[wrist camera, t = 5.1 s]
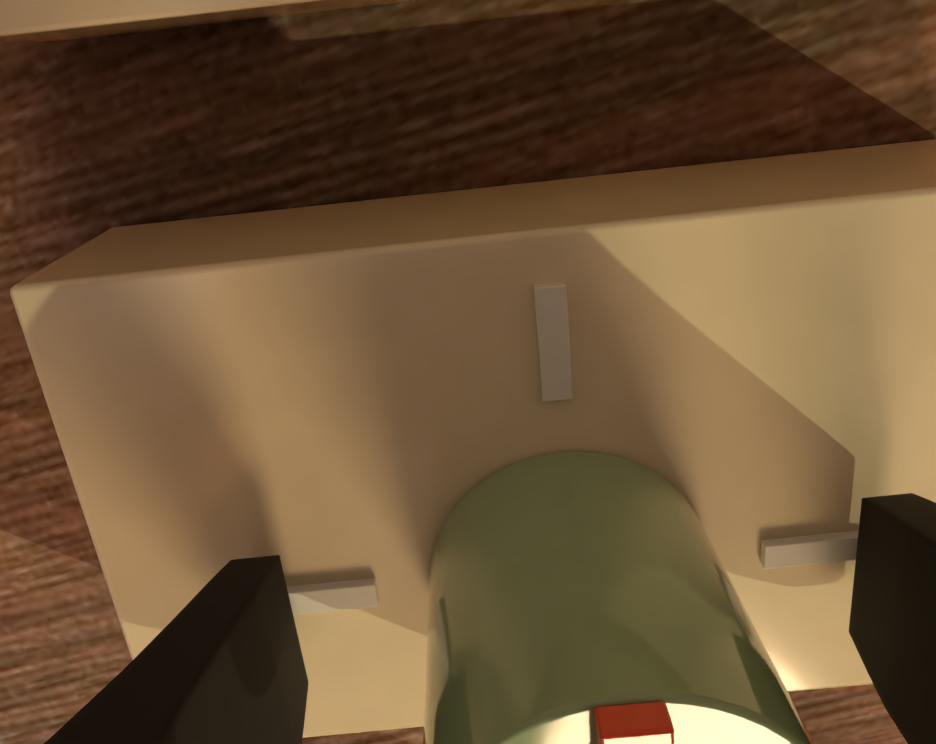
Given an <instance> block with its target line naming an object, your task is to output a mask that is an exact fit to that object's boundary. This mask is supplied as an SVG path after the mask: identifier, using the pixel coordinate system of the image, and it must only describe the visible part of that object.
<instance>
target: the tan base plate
mask: <svg viewBox="0 0 936 744" xmlns="http://www.w3.org/2000/svg"><path fill="white" fill-rule="evenodd" d="M408 1H417V0H0V42H27V41H60V40H69V39H78V38H87V37H96V36H105V35H114V34H123V33H132V32H141V31H150V30H159V29H168V28H176V27H185V26H194V25H203V24H212V23H221V22H230V21H239V20H248V19H257V18H266V17H275V16H284V15H292V14H301V13H310V12H319V11H328V10H337V9H346V8H355V7H364V6H373V5H382V4H391V3H400V2H408Z"/></svg>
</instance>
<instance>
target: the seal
mask: <svg viewBox="0 0 936 744" xmlns="http://www.w3.org/2000/svg"><path fill="white" fill-rule="evenodd" d="M423 744H814V742H813V740H812V738H811V736H810V734H809V732H808V730H807V728H806V726H805V724H804V722H803V720H802V719H801V717H800V715H799V713H798V711H797V709H796V707H795V705H794V703H793V701H792V699H791V697H790V695H789V693H788V691H787V689H786V687H785V685H784V683H783V681H782V679H781V677H780V676H779V674H778V672H777V670H776V668H775V666H774V664H773V662H772V660H771V658H770V656H769V654H768V652H767V650H766V648H765V646H764V644H763V642H762V640H761V638H760V636H759V634H758V633H757V631H756V629H755V627H754V625H753V623H752V621H751V619H750V617H749V615H748V613H747V611H746V609H745V607H744V605H743V603H742V601H741V599H740V597H739V595H738V593H737V591H736V590H735V588H734V586H733V584H732V582H731V580H730V578H729V576H728V574H727V572H726V570H725V568H724V566H723V564H722V562H721V560H720V558H719V556H718V554H717V552H716V550H715V548H714V547H713V545H712V543H711V541H710V539H709V537H708V535H707V533H706V531H705V529H704V527H703V525H702V523H701V521H700V519H699V517H698V516H697V514H696V512H695V511H694V509H693V507H692V505H691V504H690V503H689V501H688V500H687V499H686V498H685V497H684V495H683V494H682V493H681V492H680V491H679V490H678V489H677V488H676V487H675V486H674V485H672V484H671V483H670V482H669V481H668V480H667V479H665V478H664V477H662V476H661V475H659V474H658V473H656V472H655V471H653V470H651V469H649V468H647V467H645V466H643V465H641V464H639V463H637V462H634V461H631V460H628V459H625V458H622V457H619V456H614V455H610V454H605V453H599V452H587V451H567V452H557V453H550V454H543V455H539V456H536V457H532V458H528V459H525V460H522V461H520V462H517V463H515V464H512V465H509V466H507V467H505V468H503V469H501V470H500V471H498V472H496V473H494V474H492V475H490V476H489V477H488V478H486V479H485V480H483V481H482V482H481V483H479V484H478V485H476V486H475V487H474V488H473V489H472V490H471V491H470V492H469V493H468V494H466V495H465V496H464V497H463V498H462V499H461V500H460V502H459V503H458V504H457V505H456V506H455V508H454V509H453V510H452V511H451V512H450V514H449V516H448V517H447V519H446V520H445V522H444V524H443V525H442V527H441V529H440V532H439V534H438V536H437V539H436V541H435V544H434V548H433V552H432V555H431V563H430V573H429V601H428V629H427V657H426V684H425V712H424V740H423Z"/></svg>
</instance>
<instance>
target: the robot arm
mask: <svg viewBox="0 0 936 744" xmlns="http://www.w3.org/2000/svg"><path fill="white" fill-rule="evenodd" d="M849 633H850V636H851V638H852V640H853V642H854V644H855V646H856V649H857V651H858V653H859V655H860V657H861V659H862V662H863V664H864V666H865V668H866V670H867V672H868V674H869V676H870V678H871V680H872V682H873V684H874V686H875V688H876V690H877V692H878V694H879V696H880V698H881V700H882V702H883V704H884V706H885V708H886V710H887V711H888V713H889V714H890V716H891V718H892V719H893V721H894V722H895V724H896V726H897V727H898V729H899V730H900V732H901V733H902V735H903V737H904V738H905V740H906V741H907V743H908V744H936V503H935V502H933V501H930V500H928V499H926V498H923V497H921V496H918V495H916V494H913V493H908V494H898V495H887V496H877V497H867V498H862V502H861V512H860V522H859V532H858V542H857V552H856V562H855V572H854V582H853V592H852V602H851V612H850V623H849ZM308 683H309V682H308V678H307V674H306V669H305V665H304V660H303V656H302V652H301V647H300V643H299V638H298V634H297V630H296V625H295V621H294V617H293V612H292V608H291V603H290V599H289V595H288V590H287V586H286V581H285V577H284V573H283V568H282V564H281V559H280V555H274V556H264V557H254V558H243V559H233V560H230V561H229V562H228V563H227V564H226V565H225V566H224V567H223V568H222V569H221V570H220V571H219V572H218V573H217V574H216V575H215V576H214V577H213V578H212V579H211V580H210V581H209V582H208V583H207V584H206V585H205V586H204V587H203V588H202V589H201V591H200V592H199V593H198V594H197V595H196V596H195V597H194V598H193V599H192V600H191V601H190V602H189V603H188V604H187V605H186V606H185V607H184V608H183V609H182V610H181V612H180V613H179V614H178V615H177V616H176V617H175V618H174V619H173V620H172V621H171V622H170V623H169V624H168V625H167V626H166V627H165V628H164V629H163V630H162V631H161V632H160V633H159V634H158V635H157V636H156V637H155V638H154V639H153V640H152V641H151V642H150V643H149V644H148V645H147V646H146V647H145V648H144V649H143V650H142V651H141V652H140V654H139V655H138V656H137V657H136V658H135V659H134V660H133V661H132V662H131V663H130V664H129V665H128V666H127V667H126V668H125V669H124V670H123V671H122V672H121V673H120V674H119V675H118V676H116V677H115V678H114V679H113V680H112V681H111V682H110V683H109V684H108V685H107V686H106V687H105V688H104V689H103V690H101V691H100V692H99V693H98V694H97V695H96V696H95V697H94V698H93V699H92V700H91V701H90V702H89V703H88V704H86V705H85V706H84V707H83V708H82V709H81V710H80V711H79V712H78V713H77V714H76V715H75V716H74V717H73V718H71V719H70V720H69V721H68V722H67V723H66V724H65V725H64V726H63V727H62V728H61V729H60V730H59V731H58V732H56V733H55V734H54V735H53V736H52V737H51V738H50V739H49V740H48V741H47V742H45V743H44V744H302V737H303V730H304V721H305V712H306V702H307V693H308Z"/></svg>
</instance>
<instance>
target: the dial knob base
mask: <svg viewBox="0 0 936 744" xmlns="http://www.w3.org/2000/svg"><path fill="white" fill-rule="evenodd" d="M10 295H11V298H12V301H13V304H14V307H15V310H16V313H17V316H18V319H19V322H20V325H21V328H22V331H23V334H24V337H25V340H26V343H27V346H28V349H29V352H30V355H31V358H32V361H33V364H34V367H35V370H36V373H37V376H38V379H39V382H40V385H41V388H42V391H43V394H44V397H45V400H46V403H47V406H48V409H49V412H50V415H51V418H52V421H53V424H54V427H55V430H56V433H57V436H58V439H59V442H60V445H61V448H62V451H63V454H64V457H65V460H66V463H67V466H68V469H69V472H70V475H71V478H72V481H73V484H74V487H75V490H76V493H77V496H78V499H79V502H80V505H81V508H82V511H83V514H84V517H85V520H86V523H87V526H88V529H89V532H90V535H91V538H92V541H93V544H94V547H95V550H96V553H97V556H98V559H99V562H100V565H101V568H102V571H103V574H104V577H105V580H106V583H107V586H108V589H109V592H110V595H111V598H112V601H113V604H114V607H115V610H116V613H117V616H118V619H119V622H120V625H121V628H122V631H123V634H124V637H125V640H126V643H127V646H128V649H129V652H130V655H131V658H132V661H133V660H134V659H135V658H136V657H137V656H138V655H139V654H140V652H141V651H142V650H143V649H144V648H145V647H146V646H147V645H148V644H149V643H150V642H151V641H152V640H153V639H154V638H155V637H156V636H157V635H158V634H159V633H160V632H161V631H162V630H163V629H164V628H165V627H166V626H167V625H168V624H169V623H170V622H171V621H172V620H173V619H174V618H175V617H176V616H177V615H178V614H179V613H180V612H181V610H182V609H183V608H184V607H185V606H186V605H187V604H188V603H189V602H190V601H191V600H192V599H193V598H194V597H195V596H196V595H197V594H198V593H199V592H200V591H201V589H202V588H203V587H204V586H205V585H206V584H207V583H208V582H209V581H210V580H211V579H212V578H213V577H214V576H215V575H216V574H217V573H218V572H219V571H220V570H221V569H222V568H223V567H224V566H225V565H226V564H227V563H228V562H229V561H230V560H233V559H243V558H254V557H264V556H274V555H280V559H281V564H282V568H283V573H284V577H285V581H286V586H287V590H288V595H289V599H290V603H291V608H292V612H293V617H294V621H295V625H296V630H297V634H298V638H299V643H300V647H301V652H302V656H303V660H304V665H305V669H306V674H307V678H308V682H309V683H308V693H307V702H306V712H305V721H304V730H303V737H302V738H306V737H316V736H327V735H338V734H348V733H359V732H369V731H380V730H390V729H401V728H412V727H422V726H424V712H425V684H426V657H427V629H428V601H429V573H430V563H431V555H432V552H433V548H434V544H435V541H436V539H437V536H438V534H439V532H440V529H441V527H442V525H443V524H444V522H445V520H446V519H447V517H448V516H449V514H450V512H451V511H452V510H453V509H454V508H455V506H456V505H457V504H458V503H459V502H460V500H461V499H462V498H463V497H464V496H465V495H466V494H468V493H469V492H470V491H471V490H472V489H473V488H474V487H475V486H476V485H478V484H479V483H481V482H482V481H483V480H485V479H486V478H488V477H489V476H490V475H492V474H494V473H496V472H498V471H500V470H501V469H503V468H505V467H507V466H509V465H512V464H515V463H517V462H520V461H522V460H525V459H528V458H532V457H536V456H539V455H543V454H550V453H557V452H567V451H587V452H599V453H605V454H610V455H614V456H619V457H622V458H625V459H628V460H631V461H634V462H637V463H639V464H641V465H643V466H645V467H647V468H649V469H651V470H653V471H655V472H656V473H658V474H659V475H661V476H662V477H664V478H665V479H667V480H668V481H669V482H670V483H671V484H672V485H674V486H675V487H676V488H677V489H678V490H679V491H680V492H681V493H682V494H683V495H684V497H685V498H686V499H687V500H688V501H689V503H690V504H691V505H692V507H693V509H694V511H695V512H696V514H697V516H698V517H699V519H700V521H701V523H702V525H703V527H704V529H705V531H706V533H707V535H708V537H709V539H710V541H711V543H712V545H713V547H714V548H715V550H716V552H717V554H718V556H719V558H720V560H721V562H722V564H723V566H724V568H725V570H726V572H727V574H728V576H729V578H730V580H731V582H732V584H733V586H734V588H735V590H736V591H737V593H738V595H739V597H740V599H741V601H742V603H743V605H744V607H745V609H746V611H747V613H748V615H749V617H750V619H751V621H752V623H753V625H754V627H755V629H756V631H757V633H758V634H759V636H760V638H761V640H762V642H763V644H764V646H765V648H766V650H767V652H768V654H769V656H770V658H771V660H772V662H773V664H774V666H775V668H776V670H777V672H778V674H779V676H780V677H781V679H782V681H783V683H784V685H785V687H786V689H787V691H788V692H793V691H803V690H814V689H824V688H835V687H846V686H856V685H867V684H873V682H872V680H871V678H870V676H869V674H868V672H867V670H866V668H865V666H864V664H863V662H862V659H861V657H860V655H859V653H858V651H857V649H856V646H855V644H854V642H853V640H852V638H851V636H850V633H849V623H850V612H851V602H852V592H853V582H854V572H855V562H856V552H857V542H858V532H859V522H860V512H861V502H862V498H867V497H877V496H887V495H898V494H908V493H913V494H916V495H918V496H921V497H923V498H926V499H928V500H930V501H933V502H935V503H936V139H932V140H923V141H914V142H904V143H895V144H886V145H877V146H867V147H858V148H849V149H839V150H830V151H821V152H811V153H802V154H793V155H783V156H774V157H765V158H755V159H746V160H737V161H727V162H718V163H709V164H700V165H690V166H681V167H672V168H662V169H653V170H644V171H634V172H625V173H616V174H606V175H597V176H588V177H578V178H569V179H560V180H550V181H541V182H532V183H523V184H513V185H504V186H495V187H485V188H476V189H467V190H457V191H448V192H439V193H429V194H420V195H411V196H401V197H392V198H383V199H373V200H364V201H355V202H346V203H336V204H327V205H318V206H308V207H299V208H290V209H280V210H271V211H262V212H252V213H243V214H234V215H224V216H215V217H206V218H196V219H187V220H178V221H169V222H159V223H150V224H141V225H131V226H122V227H113V228H110V229H109V230H107V231H105V232H104V233H102V234H100V235H99V236H97V237H95V238H93V239H92V240H90V241H88V242H87V243H85V244H83V245H82V246H80V247H78V248H76V249H75V250H73V251H71V252H70V253H68V254H66V255H65V256H63V257H61V258H59V259H58V260H56V261H54V262H53V263H51V264H49V265H48V266H46V267H44V268H42V269H41V270H39V271H37V272H36V273H34V274H32V275H31V276H29V277H27V278H25V279H24V280H22V281H20V282H19V283H17V284H15V285H14V286H12V287H11V289H10Z"/></svg>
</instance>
